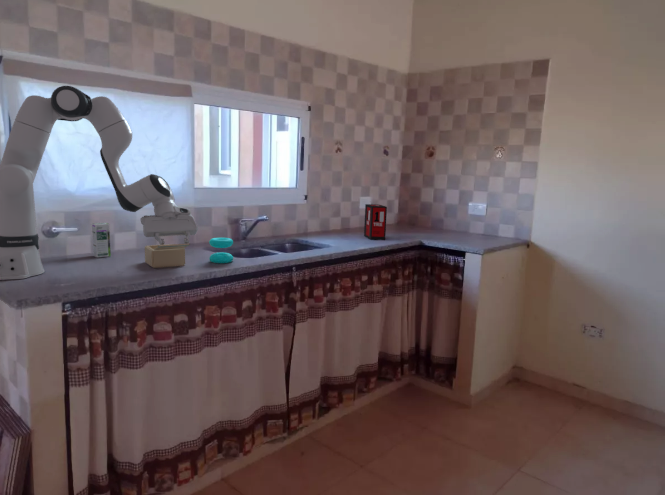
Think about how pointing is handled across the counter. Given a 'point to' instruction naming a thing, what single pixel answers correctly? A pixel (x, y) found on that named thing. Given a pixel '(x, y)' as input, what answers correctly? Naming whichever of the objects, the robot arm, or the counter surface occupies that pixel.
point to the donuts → (221, 256)
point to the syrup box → (101, 240)
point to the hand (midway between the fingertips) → (174, 243)
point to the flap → (171, 246)
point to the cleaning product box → (375, 221)
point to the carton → (164, 257)
